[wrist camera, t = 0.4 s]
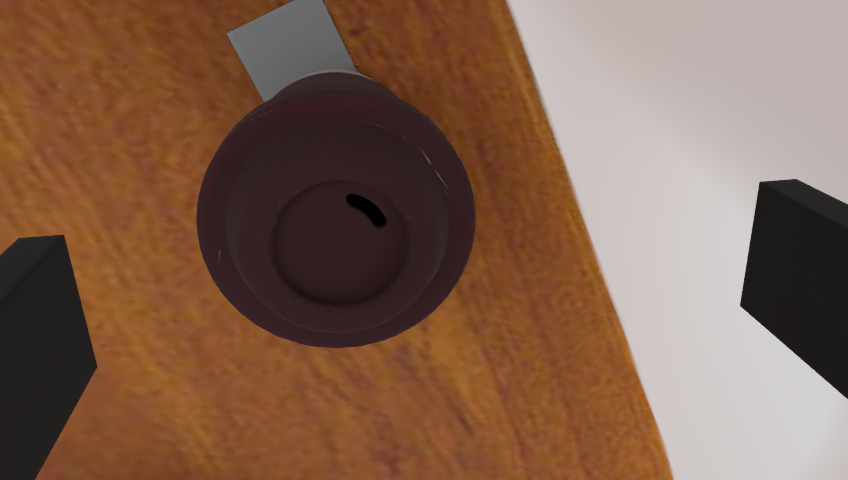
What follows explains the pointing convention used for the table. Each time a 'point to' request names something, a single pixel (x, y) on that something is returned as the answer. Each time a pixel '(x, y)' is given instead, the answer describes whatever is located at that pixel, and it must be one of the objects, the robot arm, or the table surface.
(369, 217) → the coffee cup
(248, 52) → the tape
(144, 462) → the table surface
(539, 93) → the table surface
